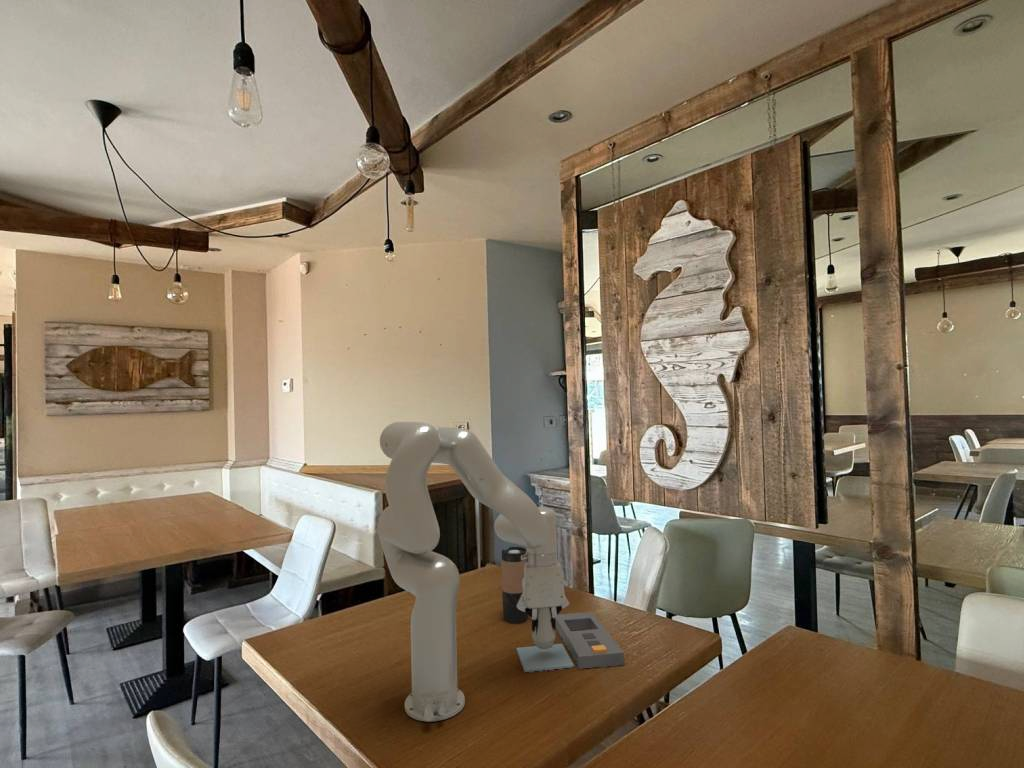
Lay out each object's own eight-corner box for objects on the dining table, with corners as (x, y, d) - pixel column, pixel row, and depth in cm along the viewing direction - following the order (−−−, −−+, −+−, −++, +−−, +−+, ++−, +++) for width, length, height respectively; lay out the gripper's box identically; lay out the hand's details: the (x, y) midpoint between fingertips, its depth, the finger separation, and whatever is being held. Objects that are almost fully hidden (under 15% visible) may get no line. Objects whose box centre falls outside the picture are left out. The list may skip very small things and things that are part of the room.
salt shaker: (554, 651, 134) (552, 597, 134) (530, 650, 135) (529, 596, 135) (557, 641, 140) (555, 589, 140) (534, 639, 141) (533, 588, 141)
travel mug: (528, 624, 158) (527, 553, 159) (502, 624, 159) (500, 553, 159) (528, 613, 166) (527, 546, 167) (503, 613, 166) (501, 546, 167)
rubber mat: (574, 668, 132) (574, 665, 132) (524, 672, 130) (524, 670, 130) (562, 646, 144) (562, 643, 144) (516, 650, 142) (516, 647, 142)
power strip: (623, 665, 133) (623, 649, 133) (579, 669, 131) (579, 653, 131) (592, 622, 159) (591, 608, 159) (554, 625, 157) (554, 612, 157)
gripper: (511, 565, 133) (513, 642, 132) (577, 560, 135) (579, 636, 135) (507, 556, 140) (508, 630, 140) (570, 552, 143) (571, 624, 142)
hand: (543, 632), depth 137 cm, fingers closed on salt shaker, 3 cm apart
